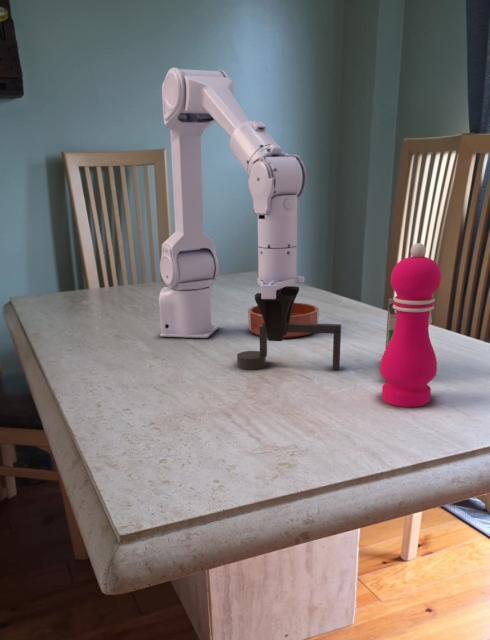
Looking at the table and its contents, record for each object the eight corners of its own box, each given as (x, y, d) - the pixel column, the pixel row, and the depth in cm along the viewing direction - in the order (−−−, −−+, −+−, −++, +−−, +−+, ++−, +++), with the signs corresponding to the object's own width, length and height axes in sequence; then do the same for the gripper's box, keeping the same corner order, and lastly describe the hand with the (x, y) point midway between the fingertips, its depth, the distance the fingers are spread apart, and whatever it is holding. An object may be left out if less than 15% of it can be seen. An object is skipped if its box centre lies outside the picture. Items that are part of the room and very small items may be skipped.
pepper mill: (371, 392, 86) (380, 241, 78) (422, 389, 87) (436, 238, 79) (387, 410, 80) (399, 247, 72) (441, 407, 80) (460, 245, 72)
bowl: (242, 338, 116) (241, 315, 114) (257, 322, 128) (256, 301, 126) (312, 340, 113) (313, 317, 111) (321, 324, 125) (322, 302, 123)
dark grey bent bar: (234, 369, 98) (232, 325, 96) (241, 360, 102) (239, 319, 100) (337, 373, 95) (339, 328, 92) (340, 364, 99) (342, 321, 96)
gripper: (296, 252, 84) (295, 350, 90) (311, 240, 97) (309, 327, 102) (245, 252, 86) (248, 348, 91) (266, 241, 98) (267, 326, 104)
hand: (277, 337), depth 97 cm, fingers open, 3 cm apart
